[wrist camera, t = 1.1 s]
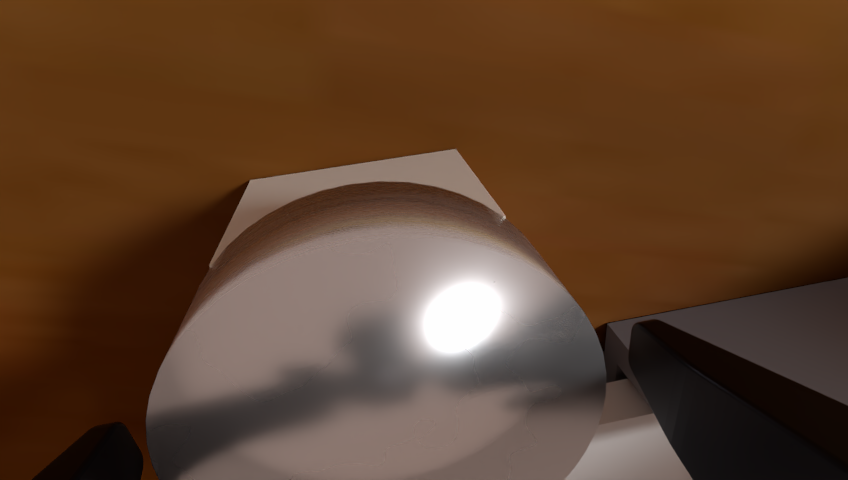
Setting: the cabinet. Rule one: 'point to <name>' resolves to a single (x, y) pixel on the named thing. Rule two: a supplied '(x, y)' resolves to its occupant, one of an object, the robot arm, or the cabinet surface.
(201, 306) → the disc
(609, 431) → the tray
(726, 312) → the housing
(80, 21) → the cabinet surface
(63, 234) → the cabinet surface
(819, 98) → the cabinet surface
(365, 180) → the block
